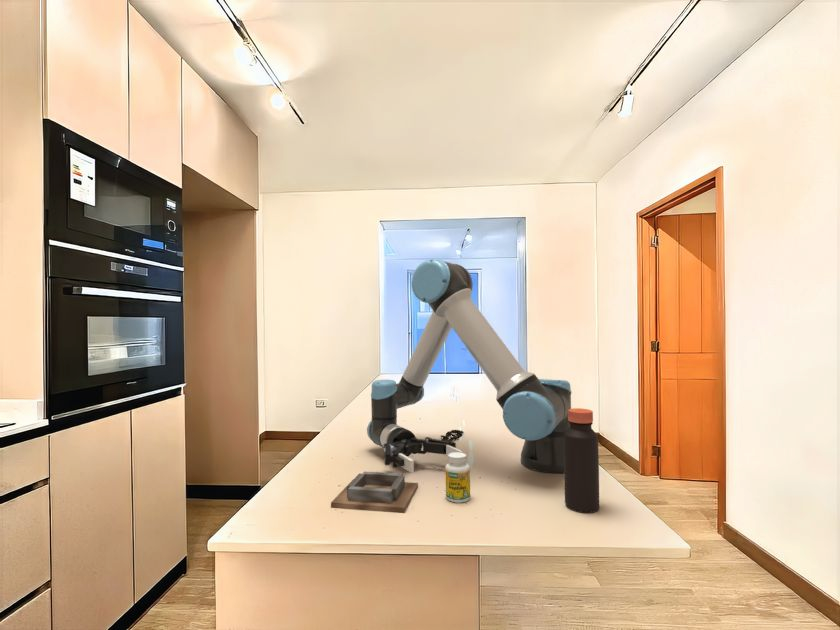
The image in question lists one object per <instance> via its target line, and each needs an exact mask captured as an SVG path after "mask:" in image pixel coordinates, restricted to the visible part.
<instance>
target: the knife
mask: <svg viewBox="0 0 840 630" xmlns="http://www.w3.org/2000/svg"><path fill="white" fill-rule="evenodd" d="M456 433H457V434H456ZM463 434H464V431H463V430H459V429H452V430H449V431H447V432H446V433H445V435H443V434H441V435H440V438H441V440H443V441H448V442H449V441H451V442H454V441H460V438H461V437H462V436H463ZM451 435H452V436H453V437H451ZM449 436H450V437H449ZM442 438H443V439H442ZM456 439H457V440H456Z"/></svg>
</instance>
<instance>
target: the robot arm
mask: <svg viewBox="0 0 840 630" xmlns="http://www.w3.org/2000/svg"><path fill="white" fill-rule="evenodd" d="M473 287H474V286H473V278H472V275H471V274H470V272H469V271H468V269H466V267H464V266H462V265H460V264H457V263H451V262H447V261H444V260H442V259H438V258H437V259H428V260H425V261H422V262H421V263H420V264H418V266H416V269H415V270H414V272H413V274H412V280H411V289H412V292H413V295H414V296H415V298H417V299H418V300H419V301H421V302H422V303H425V304H426V303H427V304H428V305H429V307H430V309H431V310H432V312H431V315H430V317H429V318H428V320H427V323H426V325H425V327H424V329H423V331H422V333H421V335H420V337H419V340H418V342H417V344H416V347H415V349H414V351H413V353H412V355H411V357H410V359H409V360H408V363H407V366H406V368H405V370H404V372H403V374H402V376H401V379H400V380H399V382H398V383H397V382H396V381H395V380H394V379H378V380H374V381H372V384H371V393H370V398H371V399H370V400H371V401H370V402H371V419H370V421H369V422H368V425H367V428H366V434H367V436H368V438H369V440H371V442H373V444H375V445H376V446H379V447H382V448H383V454H384V465H385V466H390V464H392V468H393V469H396V468H398V467H401V468H402V469H404V470H406V471H407V472H409V473H414V472H415V461H414V459H412V458H411V457H409V456H411V455H416V454H421V455H425V454H426V453H429V454H430V453H431V454H439V455H440V454H441V455H445V456H446V457H447V458H448V454H450V453H454V452H460V453H464V451H463V450H461V449H459V448H457V443H456V442H454V441H453V442H451V441H449V442H448V440H447V441H443V440H442V439H436V438H432V437H429V436H427V437H425V438H424V439H420V438H417V437H416V435H415V434H414V432H413V431H410V430H409V429H407V428H405V427H403V426H401V425H398V424H397V421H398V419H397V417H398V416H397V415H398V409H401V408H405V407H408V406H411V405H415V404H417V403H418V402H420V401H421V400H422V399H423V397H425V396H424V395H425V388H424V385H425V383H426V381H427V379H428V377H429V375H430V373H431V371H432V368H433V367H434V364H435V363H436V361H437V359H438V357H439V355H440V352H441V351H442V349H443V347H444V344H445V342H446V341H447V338H448V336H449V335H450V332H451V330H452V329H453V331H454V333H456V335H457V336H458V338H459V339H460V340H461V342H462V343H463V345H464V346H465V348H466V350H467V351H468V353H470V355H471V357H472V358H473V360H475V362H476V363H477V364H478V366H479V368H481V371H482V372H483V374H484V375H485V376H486V378H487V379H488V380H489V382H490V383H491V384H492V386H493V387H494V389H495V390H496V398H495V399H496V401H497V403H498V406H500V408H501V410H502V419H503V422H504V424H505V427H506V428H507V430H508V431H509V432H510V433H511V434H512V435H514V436H515V437H517V438H519V439H521V440H524V443H523V446H522V449H521V453H520V463H521V465H522V466H524V467H525V468H528V469H530V470H534V471H538V472H542V473H550V474H551V473H552V474H558V473H559V474H560V473H561V474H562V473H564V433H565V431H566V430H567V429H568V428H569V427H570V423H569V421H568V410H569V409H572V396H571V395H572V389H571V383H570V382H569V381H568V380H565V379H564V380H563V379H549V378H545V379H544V378H539V377H537V375H536V374H535V373H533V372H529V371H526V370H524V367H522V365H521V364H520V362H519V361H518V360H517V358H516V357H515V356H514V355H513V353H512V352H511V351H510V350H509V347H507V345H506V344H505V343H504V341H503V340H502V339H501V337H500V336H499V335H498V333H497V332H496V331H495V330H494V328H493V327H492V325H491V324H490V323H489V321H488V320H487V319H486V317H485V316H484V315H483V313H482V312H481V310H480V309H479V308H478V307H477V305H476V304H475V302H474V301H473V300H472V292H473Z"/></svg>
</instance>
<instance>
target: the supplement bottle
mask: <svg viewBox="0 0 840 630" xmlns="http://www.w3.org/2000/svg"><path fill="white" fill-rule="evenodd" d="M447 461H448V463H447V464H446V465H445V471H444V472H445V497H446V499H447V500H448V501H449V502H451V503H456V504H457V503H458V504H462V503H465V502H468V501H469V500H471V469H470V465H469V464H468V463H467V454H466V453H465V452H463V453H460V452H454V453H450V454H448V457H447Z"/></svg>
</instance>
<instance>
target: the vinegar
mask: <svg viewBox="0 0 840 630" xmlns="http://www.w3.org/2000/svg"><path fill="white" fill-rule="evenodd" d="M568 421H569V423H570V427H569V428H568V429H567V430H566V431H565V433H564V475H563V477H564V504H565V506H566V507H567V508H568V509H570V510H571V511H575V512H578V513H587V514H588V513H594V512H597V511H598V510H599V509H600V466H599V464H600V463H599V462H600V461H599V459H600V457H599V436H598V434H597V433H596V432H595V431H594V429H593V428H592V426H593V424H594V423H593V422H594V411H593V410H591V409H587V408H577V407H575V408H571V409H569V410H568Z"/></svg>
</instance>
